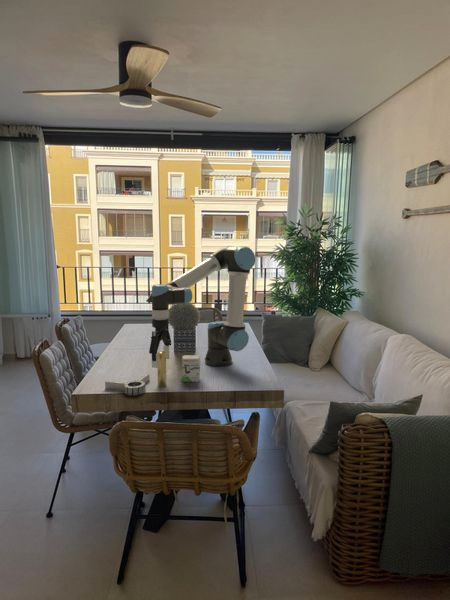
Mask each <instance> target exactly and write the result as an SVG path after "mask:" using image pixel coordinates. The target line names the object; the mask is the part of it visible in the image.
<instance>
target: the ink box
mask: <svg viewBox="0 0 450 600" xmlns="http://www.w3.org/2000/svg"><path fill="white" fill-rule="evenodd" d="M181 357H182V358H181V360H182V361H181V363H182V366H181V369H182V370H181V371H182V374H181V375H182V376H181V378H182V379H181V380H182V383H185V382H189V383H190V382H191V381H192V382H200V380H201V379H200V377H201V376H200V375H201V366H200V365H201V361H200V360H201V359H200V355H199V354H198V355H193V354H192V355H191V354H190V355H182V356H181Z"/></svg>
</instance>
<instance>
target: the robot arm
mask: <svg viewBox="0 0 450 600" xmlns="http://www.w3.org/2000/svg"><path fill="white" fill-rule="evenodd" d="M255 264H256V255H255V253H254V251H253V250H252V249H251V248H250V247H248V246H245V245H244V246H243V245H227V246H224V247H222V248H219V249H218V250H217V251H215V252H213V253H212V254H209V256H208V257H207V259H205V260H204V261H202V262H201V263H199V264H197V265H195V266H194V267H193V268H191V269H189V270H188V271H186V272H185V273H183V274H181V275H180V276H177V278H175V279H173V280H171V281H169V282H168V283H167V284H153V285H152V286H151V296H150V297H151V318H152V319H151V326H152V328H154V329H155V330H154V331H153V330H152V331H151V339H150V345H149V351H148V353H149V354H150V355H151V368H154V369H155V368H156V369H157V368H158V353H157V352H159V351H158V350H159V347H160V342H161V341H162V343H163V351H164V352H166V360H170V346H172V340H171V335H170V329H169V325H170V323H169V322H170V320H169V316H170V315H169V314H170V313H169V312H170V311H169V306H171V305H183V304H184V305H185V304H189V303H191V302H192V300H193V291H192V289H191V287H192V286H194V285H195V284H197V283H199V282H200V281H202V280H203V279H205V278H207V277H208V276H210V275H211V274H214V273H215V272H220V271H221V270H223V269H227V270H226V271H227V274H229V282H228V283H229V284H228V296H227V297H228V298H227V310H226V320H221V321H218V320H217V321H212V322H209V323H208V324H207V351H206V353H205V358H204V363H205V364H206V365H208V366H211V367H225V366H229V365H231V364H232V362H233V357H232V354H231V351H234V352H240V351H242V350H244V349H245V348H246V347H247V345H248V344H249V339H250V335H249V334H248V332H247V331H246V324H245V323H244V312H245V311H244V309H245V298H246V288H247V287H246V285H247V276H249V274H250V273H251V270H252V269H253V267H254V266H255Z"/></svg>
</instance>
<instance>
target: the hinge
mask: <svg viewBox="0 0 450 600" xmlns="http://www.w3.org/2000/svg"><path fill="white" fill-rule="evenodd" d="M149 381H151V380H150V373H146V374H145V375H144V376H142V377H141V378H140V379H138V380H130V381H129V380H128V381H127V382H121V381H120V382H119V381H110V380H106V381H104V387H105V390H112V391H114V390H115V391H121V392H123V393H124V395H127V396H138V395H139V396H140V395H143V394H145V393H146V390H147V389H146V384H147V383H148V382H149Z"/></svg>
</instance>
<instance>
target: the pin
mask: <svg viewBox="0 0 450 600" xmlns="http://www.w3.org/2000/svg"><path fill="white" fill-rule="evenodd" d="M157 353H158V368H156V369H157V371H156V372H157V387H159V388H164V387H166V386H167V359H166V352H164V351H162V350H161V351H157Z"/></svg>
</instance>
